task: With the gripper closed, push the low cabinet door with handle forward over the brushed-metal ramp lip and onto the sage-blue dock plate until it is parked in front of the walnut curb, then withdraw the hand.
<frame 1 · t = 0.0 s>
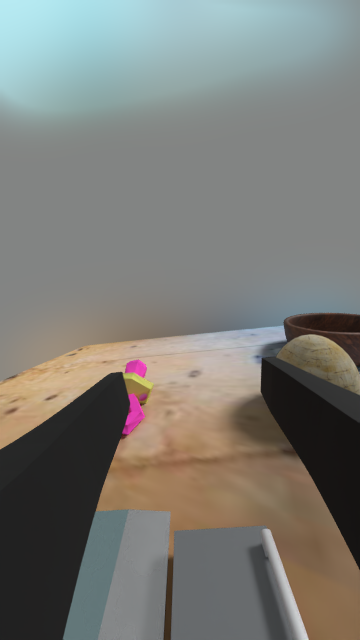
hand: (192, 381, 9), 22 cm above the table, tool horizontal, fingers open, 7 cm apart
fossilized egg: (309, 409, 33), on the table
toy: (132, 407, 39), on the table
wooden bowl: (329, 352, 53), on the table
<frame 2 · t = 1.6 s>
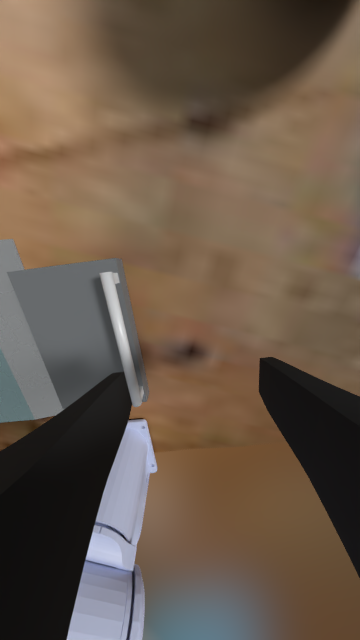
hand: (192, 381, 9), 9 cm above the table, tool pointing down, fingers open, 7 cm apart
cabinet door with handle: (99, 333, 18), on the table
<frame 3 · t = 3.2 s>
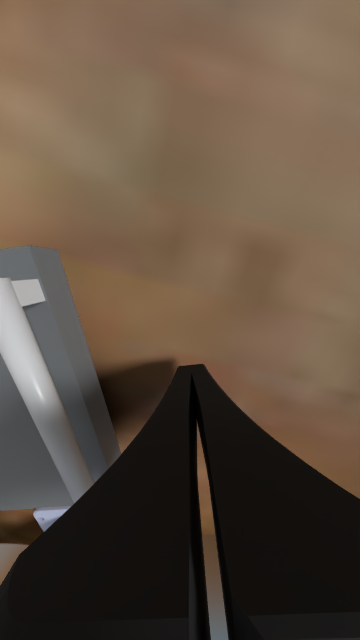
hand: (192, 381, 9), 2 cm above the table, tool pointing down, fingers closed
cabinet door with handle: (41, 379, 11), on the table
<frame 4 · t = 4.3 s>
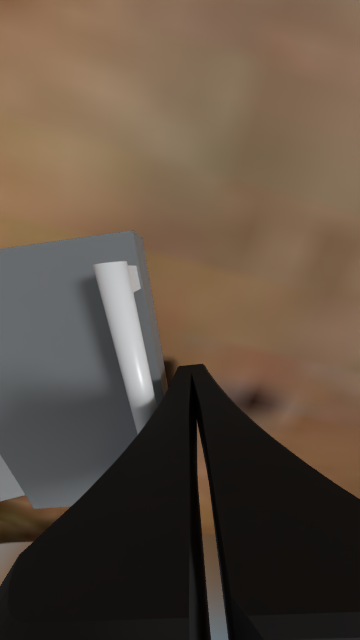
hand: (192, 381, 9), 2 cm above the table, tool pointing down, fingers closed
cabinet door with handle: (97, 373, 10), on the table, touching gripper
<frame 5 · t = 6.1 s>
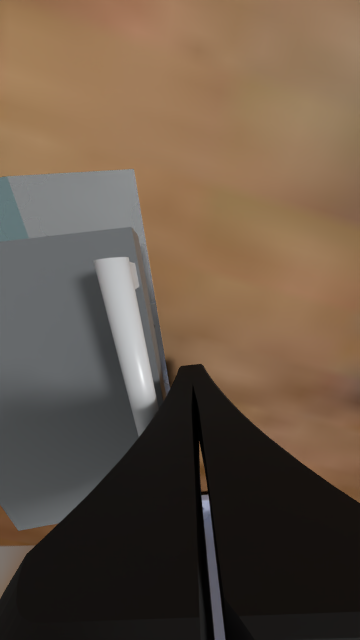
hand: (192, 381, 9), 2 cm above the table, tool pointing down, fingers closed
cabinet door with handle: (88, 378, 10), point 1 cm above the table, tilted 5°, touching dock bay, gripper
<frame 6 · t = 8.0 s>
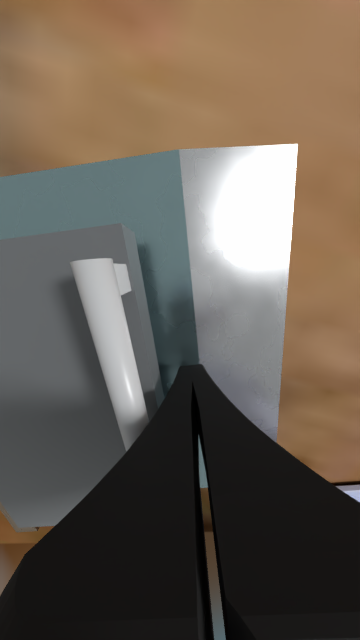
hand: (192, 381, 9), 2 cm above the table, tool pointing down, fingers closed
dock bay: (102, 373, 10), on the table
cabinet door with handle: (88, 381, 10), point 1 cm above the table, touching dock bay, gripper
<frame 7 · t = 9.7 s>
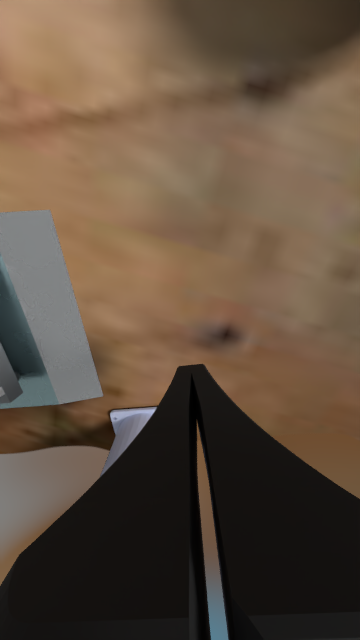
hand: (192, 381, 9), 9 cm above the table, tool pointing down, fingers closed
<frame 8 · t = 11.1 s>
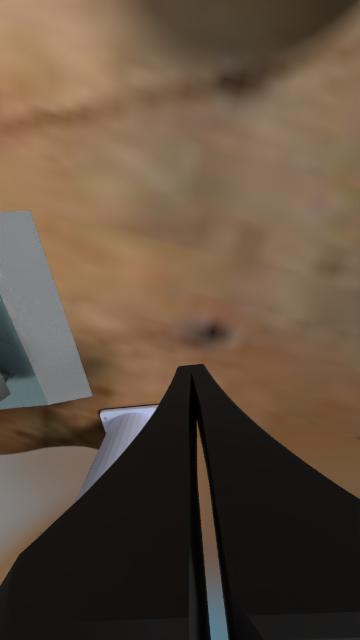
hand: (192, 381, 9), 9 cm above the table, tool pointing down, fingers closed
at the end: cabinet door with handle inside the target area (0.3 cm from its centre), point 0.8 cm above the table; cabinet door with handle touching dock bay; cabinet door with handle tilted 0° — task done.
